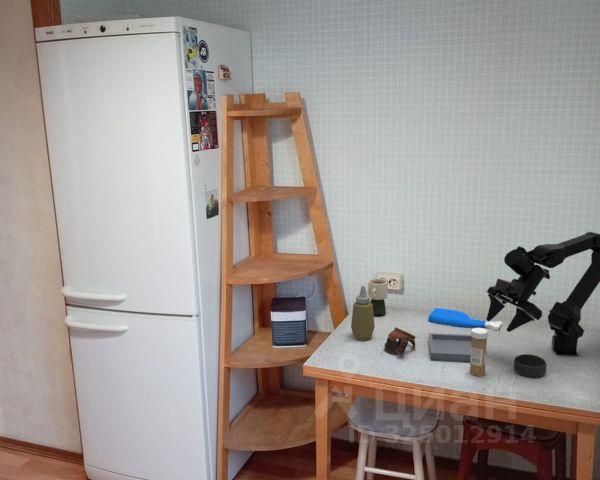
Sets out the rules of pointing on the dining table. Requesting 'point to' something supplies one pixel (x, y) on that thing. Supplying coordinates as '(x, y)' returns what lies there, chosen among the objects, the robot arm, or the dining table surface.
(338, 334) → the dining table surface
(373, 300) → the character mug
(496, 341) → the dining table surface
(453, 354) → the tray
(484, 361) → the sprinkles bottle
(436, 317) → the spray bottle
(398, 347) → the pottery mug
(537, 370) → the smart speaker
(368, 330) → the squeeze bottle
